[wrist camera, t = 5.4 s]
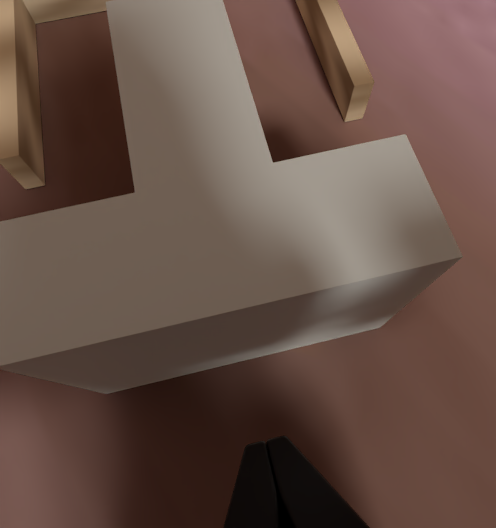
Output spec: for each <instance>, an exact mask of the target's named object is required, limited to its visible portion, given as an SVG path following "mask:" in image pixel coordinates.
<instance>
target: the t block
mask: <svg viewBox="0 0 496 528" xmlns="http://www.w3.org/2000/svg"><path fill="white" fill-rule="evenodd" d="M106 8H107V15H108V21H109V28H110V34H111V41H112V47H113V54H114V60H115V67H116V73H117V80H118V86H119V92H120V99H121V105H122V112H123V118H124V125H125V131H126V138H127V144H128V151H129V157H130V164H131V170H132V177H133V183H134V190H135V193H130V194H126V195H121V196H116V197H112V198H107V199H102V200H98V201H93V202H89V203H84V204H79V205H75V206H70V207H65V208H61V209H56V210H51V211H47V212H42V213H38V214H33V215H28V216H24V217H19V218H14V219H10V220H5V221H0V370H4V371H8V372H12V373H17V374H21V375H25V376H30V377H34V378H38V379H43V380H47V381H51V382H56V383H60V384H64V385H69V386H73V387H78V388H82V389H86V390H91V391H95V392H99V393H104V394H109V393H113V392H118V391H122V390H126V389H130V388H134V387H138V386H142V385H146V384H150V383H154V382H159V381H163V380H167V379H171V378H175V377H179V376H183V375H187V374H191V373H196V372H200V371H204V370H208V369H212V368H216V367H220V366H224V365H228V364H233V363H237V362H241V361H245V360H249V359H253V358H257V357H261V356H265V355H269V354H274V353H278V352H282V351H286V350H290V349H294V348H298V347H302V346H306V345H311V344H315V343H319V342H323V341H327V340H331V339H335V338H339V337H343V336H348V335H352V334H356V333H360V332H364V331H368V330H372V329H376V328H380V327H381V326H382V325H384V324H385V323H386V322H387V321H388V320H389V319H391V318H392V317H393V316H394V315H395V314H396V313H398V312H399V311H400V310H401V309H402V308H403V307H405V306H406V305H407V304H408V303H409V302H410V301H412V300H413V299H414V298H415V297H416V296H417V295H419V294H420V293H421V292H422V291H423V290H424V289H426V288H427V287H428V286H429V285H430V284H431V283H433V282H434V281H435V280H436V279H437V278H438V277H440V276H441V275H442V274H443V273H444V272H446V271H447V270H448V269H449V268H450V267H451V266H453V265H454V264H455V263H456V262H457V261H458V260H460V259H461V258H462V257H463V256H462V254H461V252H460V250H459V247H458V245H457V243H456V241H455V239H454V237H453V235H452V232H451V230H450V228H449V226H448V224H447V222H446V220H445V218H444V215H443V213H442V211H441V209H440V207H439V205H438V203H437V200H436V198H435V196H434V194H433V192H432V190H431V188H430V185H429V183H428V181H427V179H426V177H425V175H424V173H423V170H422V168H421V166H420V164H419V162H418V160H417V158H416V156H415V153H414V151H413V149H412V147H411V145H410V143H409V141H408V138H407V136H406V134H404V135H400V136H395V137H390V138H386V139H381V140H376V141H372V142H367V143H362V144H358V145H353V146H349V147H344V148H339V149H335V150H330V151H325V152H321V153H316V154H311V155H307V156H302V157H297V158H293V159H288V160H284V161H279V162H274V163H273V161H272V158H271V155H270V152H269V148H268V145H267V142H266V139H265V136H264V132H263V129H262V126H261V123H260V119H259V116H258V113H257V110H256V106H255V103H254V100H253V97H252V93H251V90H250V87H249V84H248V81H247V77H246V74H245V71H244V68H243V64H242V61H241V58H240V55H239V51H238V48H237V45H236V42H235V38H234V35H233V32H232V29H231V26H230V22H229V19H228V16H227V13H226V9H225V6H224V3H223V0H112V1H106Z"/></svg>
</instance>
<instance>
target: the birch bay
mask: <svg viewBox="0 0 496 528" xmlns="http://www.w3.org/2000/svg"><path fill="white" fill-rule="evenodd" d="M106 1H112V0H0V164H1V165H2V166H3V167H4V168H5V169H6V170H7V171H8V172H9V173H10V174H11V175H12V176H13V177H14V178H15V179H16V180H17V181H18V182H19V183H20V184H21V185H22V186H23V187H24V188H25V189H30V188H35V187H39V186H44V185H45V174H44V158H43V141H42V124H41V107H40V91H39V74H38V57H37V41H36V24H37V23H43V22H48V21H53V20H59V19H64V18H69V17H75V16H80V15H85V14H91V13H96V12H101V11H107V8H106ZM295 1H296V3H297V6H298V8H299V11H300V13H301V16H302V18H303V20H304V23H305V25H306V28H307V30H308V33H309V35H310V38H311V40H312V43H313V45H314V48H315V50H316V53H317V55H318V57H319V60H320V62H321V65H322V67H323V70H324V72H325V75H326V77H327V80H328V82H329V85H330V87H331V90H332V92H333V94H334V97H335V99H336V102H337V104H338V107H339V109H340V112H341V114H342V117H343V119H344V122H347V121H352V120H356V119H361V118H363V115H364V112H365V109H366V106H367V103H368V100H369V97H370V94H371V91H372V88H373V85H374V80H373V78H372V76H371V74H370V71H369V69H368V67H367V65H366V63H365V61H364V58H363V56H362V54H361V52H360V50H359V48H358V45H357V43H356V41H355V39H354V37H353V34H352V32H351V30H350V28H349V26H348V24H347V21H346V19H345V17H344V15H343V13H342V11H341V8H340V6H339V4H338V2H337V0H295Z"/></svg>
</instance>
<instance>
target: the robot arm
mask: <svg viewBox="0 0 496 528" xmlns="http://www.w3.org/2000/svg"><path fill="white" fill-rule="evenodd" d="M266 443H267V445H266ZM266 443H265V442H264V441H260V442H256V443H252V444H248V445H247V446H246V447H245V449H244V453H243V457H242V460H241V464H240V468H239V471H238V475H237V479H236V483H235V486H234V490H233V494H232V498H231V501H230V505H229V509H228V512H227V516H226V520H225V524H224V527H223V528H370V527H369V526H368V525H367V524H366V523H365V522H364V521H363V520H362V519H361V518H360V516H359V515H358V514H357V513H356V512H355V511H354V510H353V509H352V508H351V507H350V505H349V504H348V503H347V502H346V501H345V500H344V499H343V498H342V497H341V496H340V495H339V493H338V492H337V491H336V490H335V489H334V488H333V487H332V486H331V485H330V484H329V482H328V481H327V480H326V479H325V478H324V477H323V476H322V475H321V474H320V473H319V471H318V470H317V469H316V468H315V467H314V466H313V465H312V464H311V463H310V462H309V460H308V459H307V458H306V457H305V456H304V455H303V454H302V453H301V452H300V451H299V450H298V448H297V447H296V446H295V445H294V444H293V443H292V442H291V441H290V440H289V439H288V438H287V437H286V436H280V437H276V438H272V439H269V440H267V442H266ZM267 448H268V449H267ZM269 457H270V458H269ZM285 526H286V527H285Z"/></svg>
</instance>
